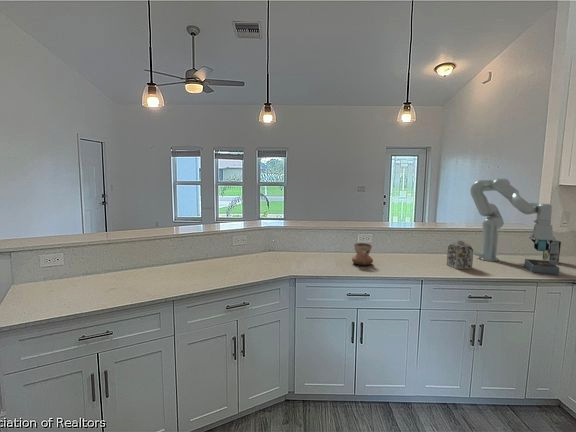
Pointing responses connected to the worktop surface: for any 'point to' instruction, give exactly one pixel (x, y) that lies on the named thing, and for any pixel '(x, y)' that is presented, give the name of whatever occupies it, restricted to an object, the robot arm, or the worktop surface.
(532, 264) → the tote
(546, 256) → the coffee box
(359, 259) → the ceramic jug
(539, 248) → the teal cylinder
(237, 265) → the worktop surface
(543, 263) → the walnut cube
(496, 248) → the robot arm
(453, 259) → the decorative jar
